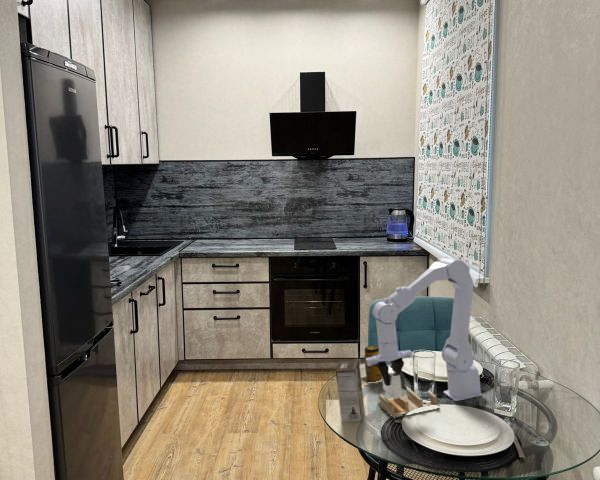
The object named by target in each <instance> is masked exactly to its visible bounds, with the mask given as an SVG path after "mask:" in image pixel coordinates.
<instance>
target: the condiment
mask: <svg viewBox="0 0 600 480" xmlns="http://www.w3.org/2000/svg"><path fill="white" fill-rule="evenodd" d="M378 354H379V345H367V346H366V347H364V357H363V358H364V367H365V368H364V369H365V376H363V377H361V383H362V385H364V386H369V385H372V384H371V383H368V382H376V381H379V380H381V379H382V374H381V372H380V370H379V368H378V367H377V365H376V364H373V365H371V366H367V365H366V358H369V357H372V356H375V355H378Z"/></svg>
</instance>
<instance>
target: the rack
mask: <svg viewBox="0 0 600 480" xmlns="http://www.w3.org/2000/svg"><path fill="white" fill-rule="evenodd" d="M405 391H406V394H404V395H402V398H397V399H394V398H393V397H391V398H386V396H384V395H383V394H382V393H380V394H378V399H379V400H377V404H378V403H379V404H380V405H381V406H382V407H383V408H384V409H385V410H386V411H387V412H388V413H389V414H390V415H392V416H397V415H402V414H406V413H408V412H410V411H412V410H414V409H417V408H420V407H424V406H428V405H437V404H438V398H437V395H436V394H435V393H433V392H432V393H428V394H429V399H430V401H431V402H430V403H426V404H423V400H422V398H420V397H419V396H418V395H417V394H415V393H416V392H414V391H413V390H412V389H410V388H406V390H405ZM379 404H378V405H379ZM380 405H379V406H380ZM381 406H380V407H381ZM382 407H381V408H382ZM383 408H382V409H383ZM384 409H383V410H384ZM385 410H384V411H385ZM386 411H385V412H386ZM387 412H386V413H387ZM388 413H387V414H388ZM389 414H388V415H389ZM390 415H389V416H390Z"/></svg>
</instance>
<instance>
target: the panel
mask: <svg viewBox="0 0 600 480" xmlns="http://www.w3.org/2000/svg"><path fill="white" fill-rule="evenodd" d="M387 366H388V367H389V369H388V377H389V386H386V385H385V383H384V379H383V377H382V381H383V382H382V389H383V390H384V391H385V392H386V393H388V395H390V397H391V398H394V399H397V398H402V396H403V393H402V382H401V381H402V380H401V374H400V375H399V374H398V373H397V372H396V371H394V370H393V369H392V366H390V365H387Z"/></svg>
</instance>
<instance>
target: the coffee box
mask: <svg viewBox="0 0 600 480" xmlns="http://www.w3.org/2000/svg"><path fill="white" fill-rule="evenodd" d="M335 376H336V386H337V392H338V393H337V394H338V406H339V413H340V420H341V422H343V423H344V422H361V421H363V420H362V419H363V415H364V412H365V411H364V410H365V405H364V404H365V402H364V394H363V383H362V382H361V376H362V375H361V366H360V360H357V359H356V360H355V359H354V360H340V361H338V365H337V367H336V369H335Z"/></svg>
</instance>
